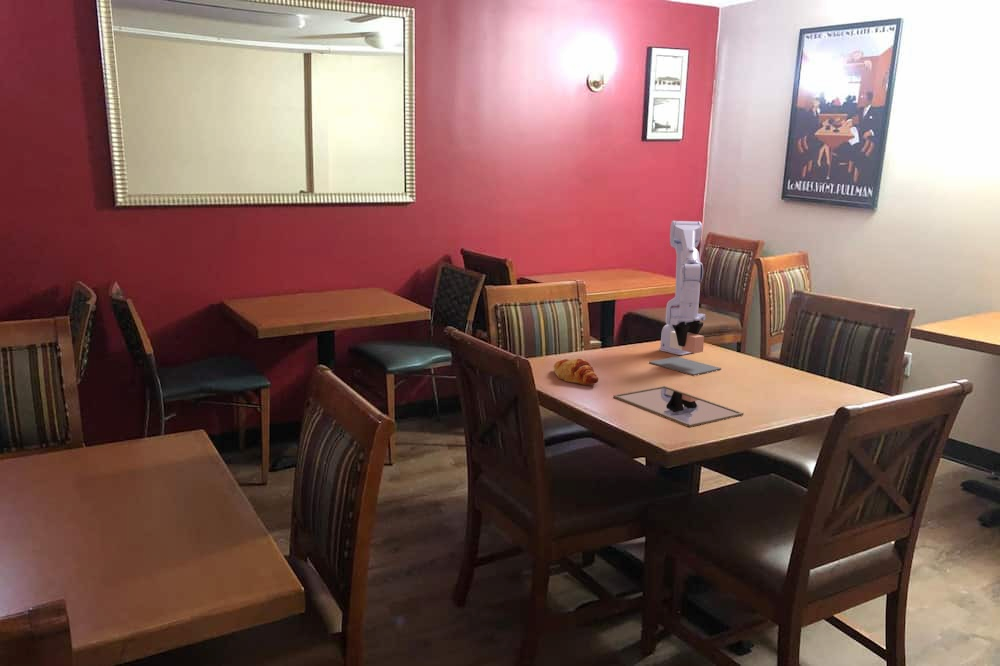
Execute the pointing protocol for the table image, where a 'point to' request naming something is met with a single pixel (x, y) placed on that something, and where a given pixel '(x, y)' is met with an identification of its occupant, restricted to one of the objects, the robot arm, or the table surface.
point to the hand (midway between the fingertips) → (686, 345)
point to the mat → (685, 365)
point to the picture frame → (678, 406)
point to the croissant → (575, 371)
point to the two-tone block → (688, 342)
